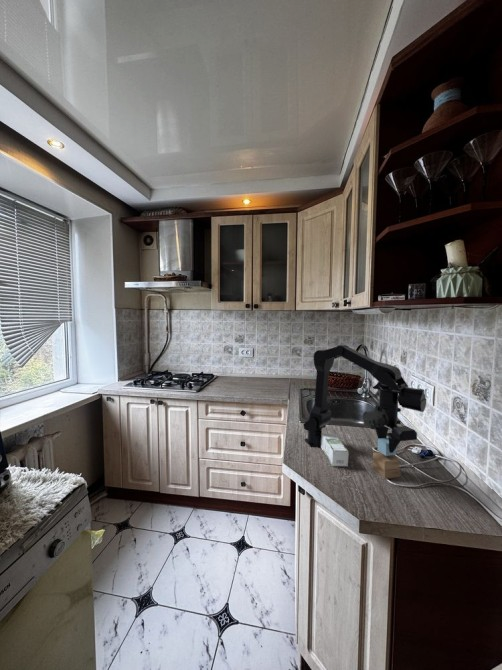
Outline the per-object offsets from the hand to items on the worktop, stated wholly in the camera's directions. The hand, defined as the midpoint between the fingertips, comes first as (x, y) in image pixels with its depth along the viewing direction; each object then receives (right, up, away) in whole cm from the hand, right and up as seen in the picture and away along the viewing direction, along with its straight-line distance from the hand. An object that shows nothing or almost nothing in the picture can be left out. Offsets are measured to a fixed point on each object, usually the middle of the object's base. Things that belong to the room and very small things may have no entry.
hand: (386, 449), depth 89 cm
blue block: (0, -1, 0) cm, 1 cm away
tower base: (0, -8, 0) cm, 8 cm away
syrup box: (-14, -5, +3) cm, 16 cm away
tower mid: (0, -5, 0) cm, 5 cm away
